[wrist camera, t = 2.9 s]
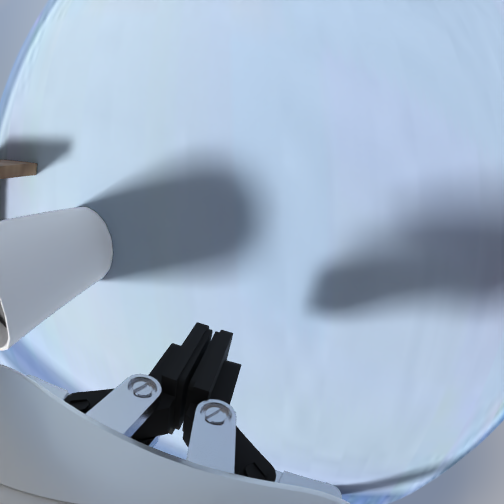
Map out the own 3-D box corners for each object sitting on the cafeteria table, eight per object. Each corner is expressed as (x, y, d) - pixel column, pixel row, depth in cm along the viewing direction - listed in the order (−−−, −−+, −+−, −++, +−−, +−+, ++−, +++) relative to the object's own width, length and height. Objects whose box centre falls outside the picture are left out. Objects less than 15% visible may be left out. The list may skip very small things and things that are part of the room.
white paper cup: (70, 289, 19) (-16, 344, 10) (50, 211, 18) (-50, 240, 8) (128, 283, 18) (27, 358, 8) (105, 189, 16) (-20, 213, 7)
